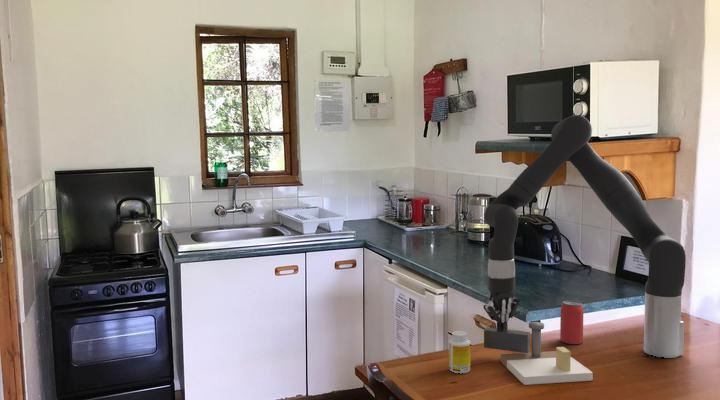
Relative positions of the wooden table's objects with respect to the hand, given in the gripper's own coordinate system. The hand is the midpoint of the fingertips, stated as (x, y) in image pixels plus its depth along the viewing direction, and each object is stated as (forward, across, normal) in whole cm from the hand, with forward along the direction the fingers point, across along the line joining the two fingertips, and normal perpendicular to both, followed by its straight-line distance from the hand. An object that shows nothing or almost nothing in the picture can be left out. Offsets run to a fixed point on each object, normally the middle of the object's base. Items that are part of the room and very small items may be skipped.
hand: (502, 334), depth 174 cm
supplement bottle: (+6, +19, +2) cm, 20 cm away
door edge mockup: (+6, +1, +15) cm, 16 cm away
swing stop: (+3, +2, +4) cm, 5 cm away
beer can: (+7, -25, +5) cm, 26 cm away
